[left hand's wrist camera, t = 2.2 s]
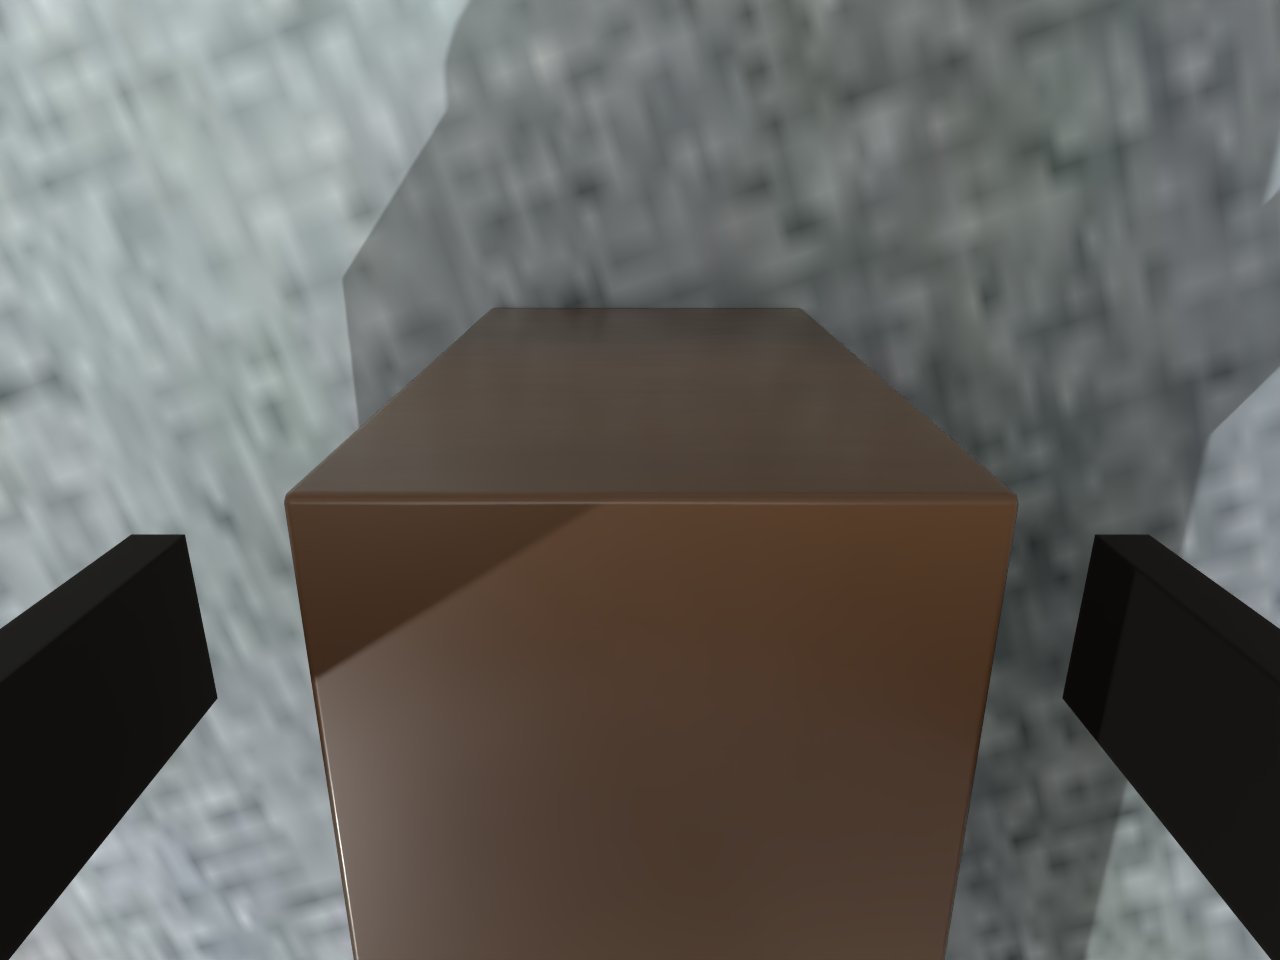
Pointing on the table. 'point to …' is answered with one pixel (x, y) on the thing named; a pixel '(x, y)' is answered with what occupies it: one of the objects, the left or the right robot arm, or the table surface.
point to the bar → (650, 646)
